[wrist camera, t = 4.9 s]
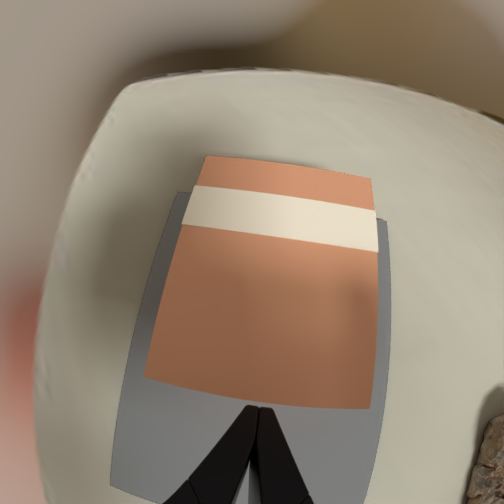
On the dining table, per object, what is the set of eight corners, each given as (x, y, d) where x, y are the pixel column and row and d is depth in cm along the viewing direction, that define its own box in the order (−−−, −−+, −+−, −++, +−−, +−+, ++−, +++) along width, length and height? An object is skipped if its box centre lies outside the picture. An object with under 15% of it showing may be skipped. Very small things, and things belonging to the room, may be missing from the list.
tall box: (371, 408, 9) (371, 178, 14) (142, 376, 10) (205, 154, 15) (337, 401, 14) (348, 224, 19) (174, 377, 15) (215, 205, 20)
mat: (355, 520, 10) (357, 522, 10) (112, 483, 11) (109, 484, 11) (384, 223, 20) (386, 221, 19) (178, 194, 21) (177, 191, 20)
